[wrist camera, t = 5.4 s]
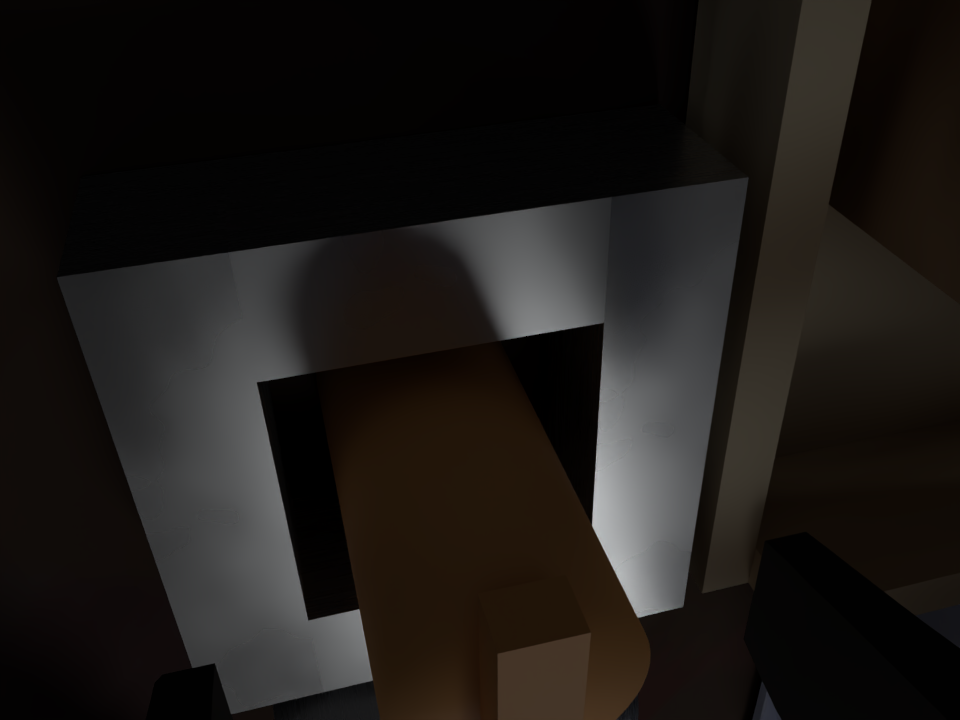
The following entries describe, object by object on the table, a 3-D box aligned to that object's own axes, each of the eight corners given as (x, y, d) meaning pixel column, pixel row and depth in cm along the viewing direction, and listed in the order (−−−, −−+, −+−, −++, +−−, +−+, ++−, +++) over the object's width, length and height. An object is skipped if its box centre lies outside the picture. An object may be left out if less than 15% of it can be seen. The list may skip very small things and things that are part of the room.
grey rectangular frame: (614, 626, 23) (674, 757, 20) (246, 714, 21) (254, 871, 18) (660, 104, 15) (771, 195, 12) (80, 176, 13) (50, 303, 10)
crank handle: (499, 436, 18) (659, 808, 12) (328, 467, 17) (404, 877, 11) (500, 260, 16) (698, 608, 10) (303, 287, 15) (380, 680, 9)
